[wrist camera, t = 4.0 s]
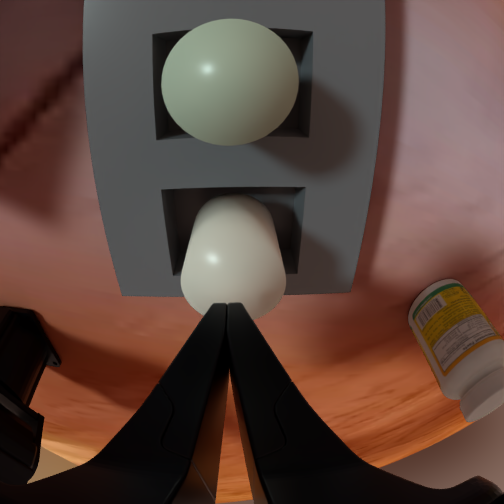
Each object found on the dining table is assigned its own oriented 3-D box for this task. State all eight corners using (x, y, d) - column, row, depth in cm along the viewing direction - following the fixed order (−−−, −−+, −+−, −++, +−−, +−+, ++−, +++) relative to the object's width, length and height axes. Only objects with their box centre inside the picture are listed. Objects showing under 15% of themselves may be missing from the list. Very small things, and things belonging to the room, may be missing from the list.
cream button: (272, 262, 15) (282, 321, 11) (197, 264, 15) (187, 323, 11) (275, 192, 13) (289, 238, 10) (191, 193, 13) (174, 240, 9)
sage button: (278, 125, 11) (296, 146, 8) (186, 126, 11) (164, 148, 8) (279, 39, 10) (300, 21, 6) (185, 40, 9) (160, 24, 6)
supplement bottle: (411, 285, 19) (476, 398, 11) (468, 269, 19) (539, 362, 11) (401, 336, 22) (446, 438, 14) (454, 320, 21) (504, 407, 13)
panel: (337, 264, 18) (350, 292, 16) (134, 267, 17) (122, 295, 15) (356, -75, 7) (375, -93, 5) (115, -72, 7) (97, -90, 5)
